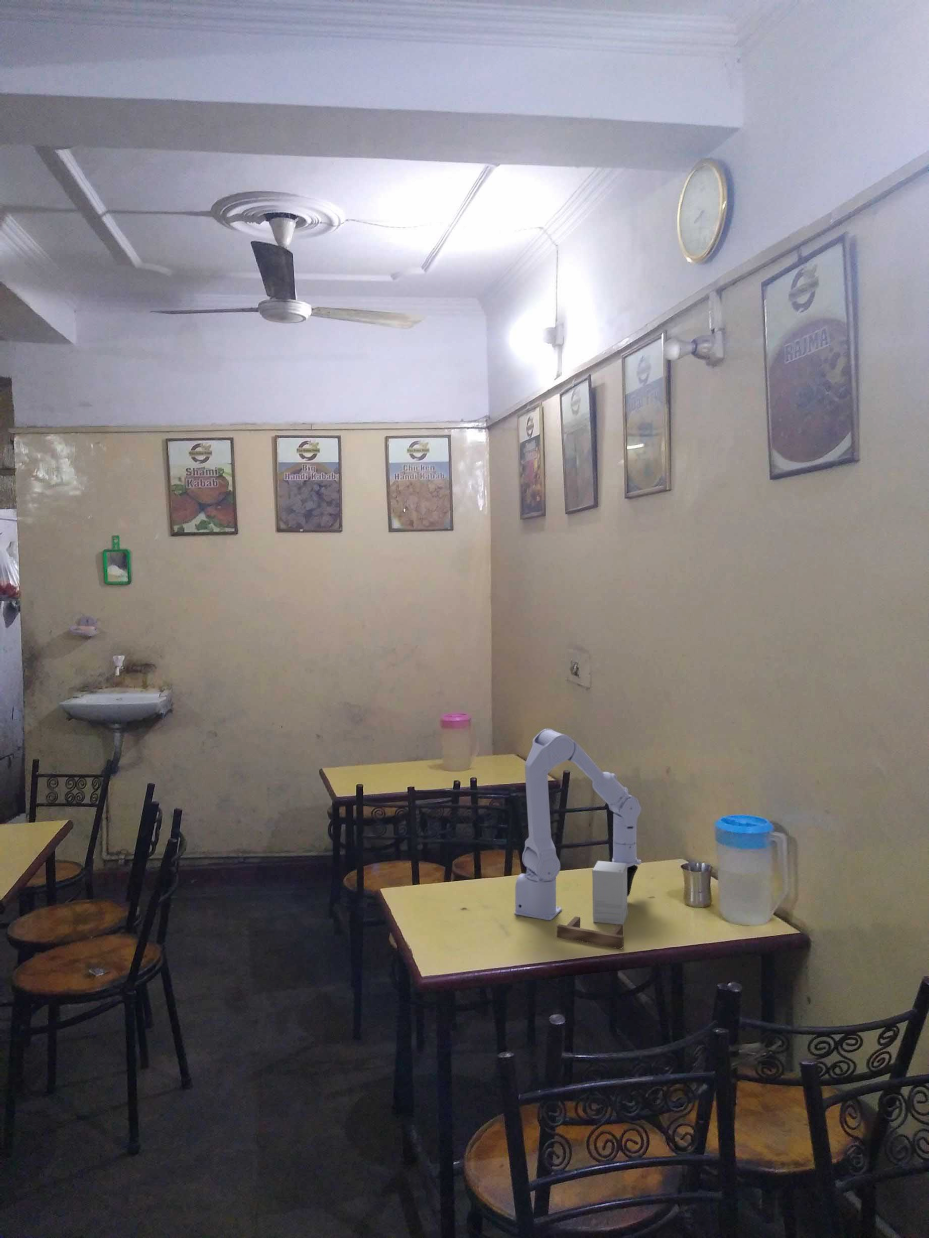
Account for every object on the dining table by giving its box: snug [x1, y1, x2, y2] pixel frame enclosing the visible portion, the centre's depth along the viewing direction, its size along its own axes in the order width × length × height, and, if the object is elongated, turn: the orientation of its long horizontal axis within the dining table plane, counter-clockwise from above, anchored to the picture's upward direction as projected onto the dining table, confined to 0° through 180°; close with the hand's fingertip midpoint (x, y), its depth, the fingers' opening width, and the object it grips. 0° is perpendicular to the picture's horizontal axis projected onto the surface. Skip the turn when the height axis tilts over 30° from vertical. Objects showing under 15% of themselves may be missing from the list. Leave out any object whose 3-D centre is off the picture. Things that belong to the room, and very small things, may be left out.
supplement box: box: [591, 860, 628, 926], centre depth 212 cm, size 7×7×13 cm
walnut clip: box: [556, 916, 624, 949], centre depth 202 cm, size 15×7×2 cm, turn 63°
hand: (624, 895), depth 223 cm, fingers closed
